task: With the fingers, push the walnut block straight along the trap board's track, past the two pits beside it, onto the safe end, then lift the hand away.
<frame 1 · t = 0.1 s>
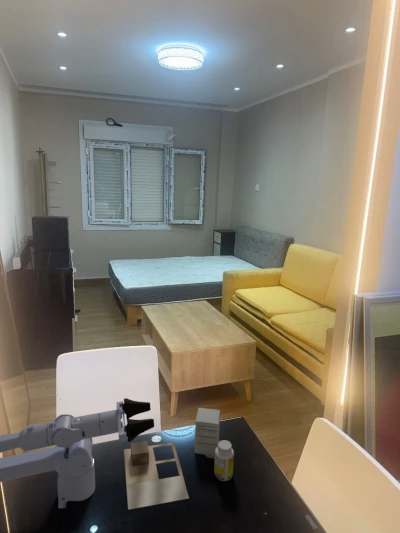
hand: (152, 414, 99), 22 cm above the table, tool horizontal, fingers open, 7 cm apart
supplement box: (206, 450, 117), on the table
supplement bottle: (223, 475, 107), on the table
trap board: (153, 475, 105), on the table
walnut block: (139, 458, 110), point 1 cm above the table, touching trap board
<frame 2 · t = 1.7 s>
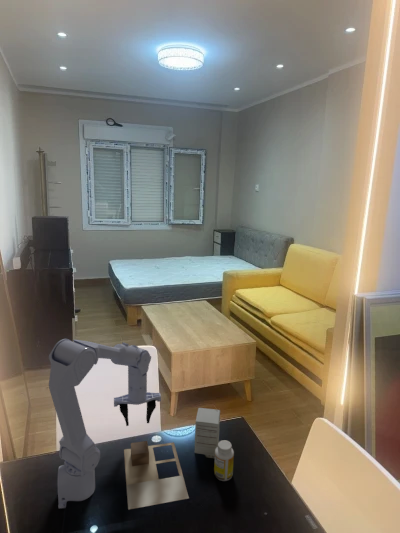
hand: (137, 422, 115), 8 cm above the table, tool pointing down, fingers open, 6 cm apart
nothing on the table moved.
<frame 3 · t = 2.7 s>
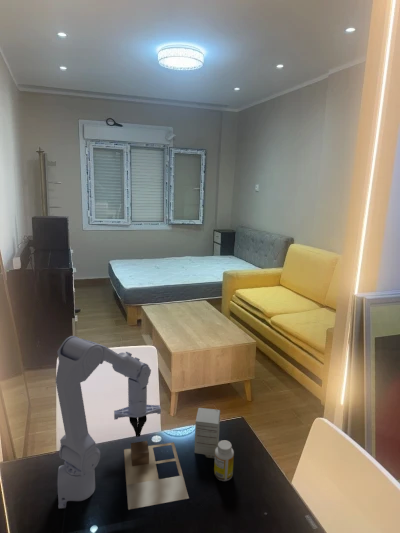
hand: (137, 434, 116), 4 cm above the table, tool pointing down, fingers closed
nothing on the table moved.
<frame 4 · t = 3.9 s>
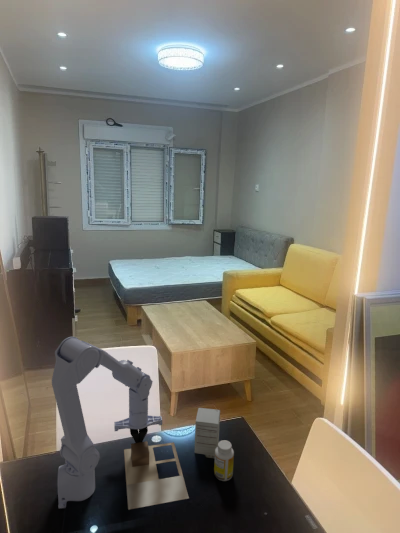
hand: (138, 446, 113), 2 cm above the table, tool pointing down, fingers closed, pressing on walnut block
walnut block: (140, 459, 110), point 1 cm above the table, touching gripper
everything else where it was.
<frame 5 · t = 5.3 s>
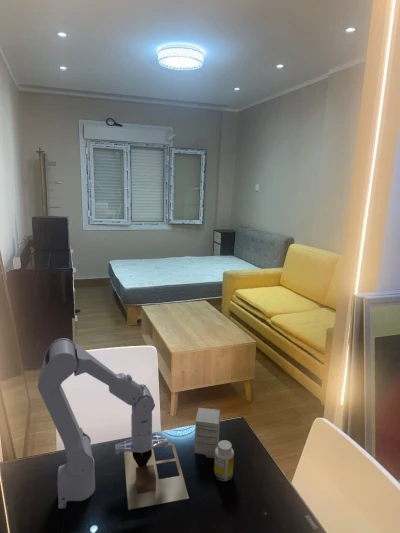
hand: (141, 470, 104), 2 cm above the table, tool pointing down, fingers closed, pressing on walnut block
walnut block: (145, 484, 100), point 1 cm above the table, touching gripper
everything else where it was.
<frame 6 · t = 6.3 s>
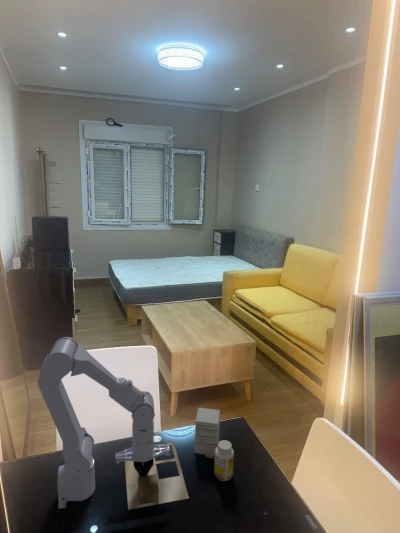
hand: (143, 479, 101), 2 cm above the table, tool pointing down, fingers closed, pressing on walnut block
walnut block: (148, 495, 97), point 1 cm above the table, touching gripper, trap board
everything else where it was.
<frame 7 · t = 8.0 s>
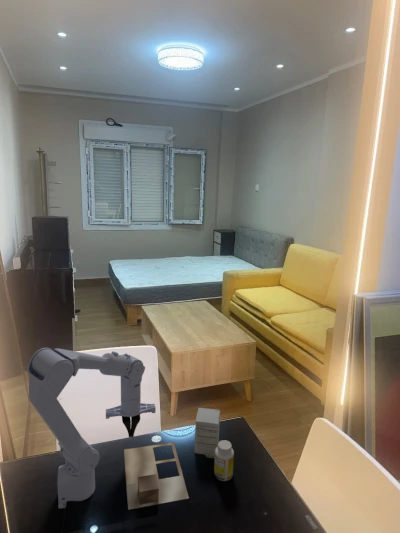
hand: (131, 435, 109), 8 cm above the table, tool pointing down, fingers closed
walnut block: (148, 495, 97), point 1 cm above the table, touching trap board
everything else where it was.
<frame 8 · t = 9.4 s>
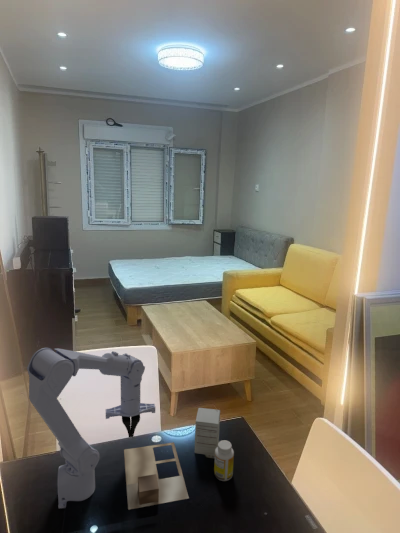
hand: (130, 435, 109), 8 cm above the table, tool pointing down, fingers closed
nothing on the table moved.
at the end: walnut block inside the target area on the trap board (1.1 cm from its centre), point 1.2 cm above the trap board's base; walnut block tilted 0° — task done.
